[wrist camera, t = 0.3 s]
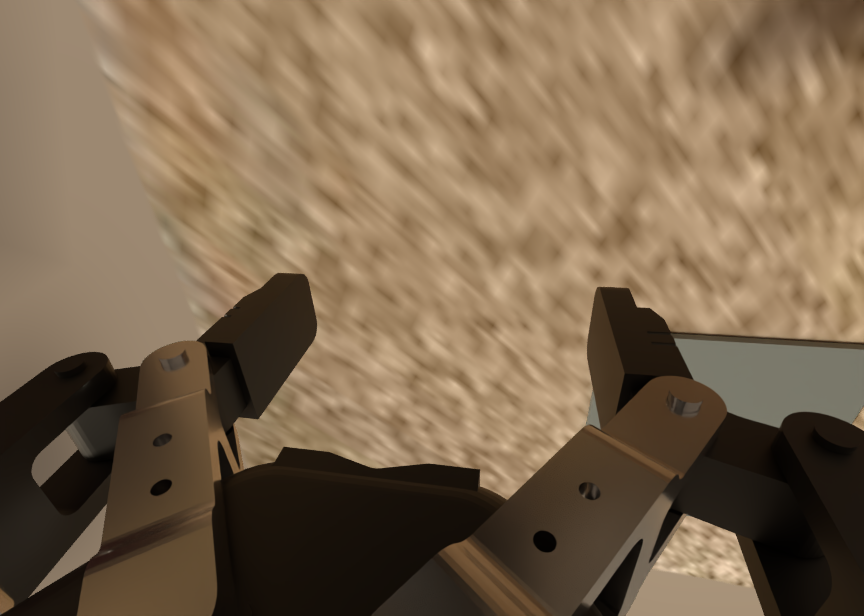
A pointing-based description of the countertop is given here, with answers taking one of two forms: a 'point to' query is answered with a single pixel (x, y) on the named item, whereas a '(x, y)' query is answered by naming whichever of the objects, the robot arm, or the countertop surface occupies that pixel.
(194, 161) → the countertop surface
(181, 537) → the robot arm
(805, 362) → the mat
